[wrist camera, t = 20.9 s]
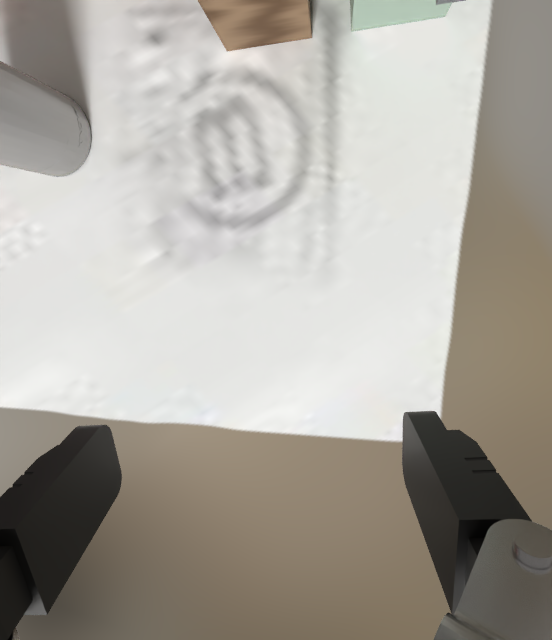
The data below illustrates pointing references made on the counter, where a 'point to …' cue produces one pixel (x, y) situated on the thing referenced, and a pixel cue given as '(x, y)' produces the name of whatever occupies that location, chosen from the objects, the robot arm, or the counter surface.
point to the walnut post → (258, 21)
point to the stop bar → (446, 1)
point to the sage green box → (393, 12)
